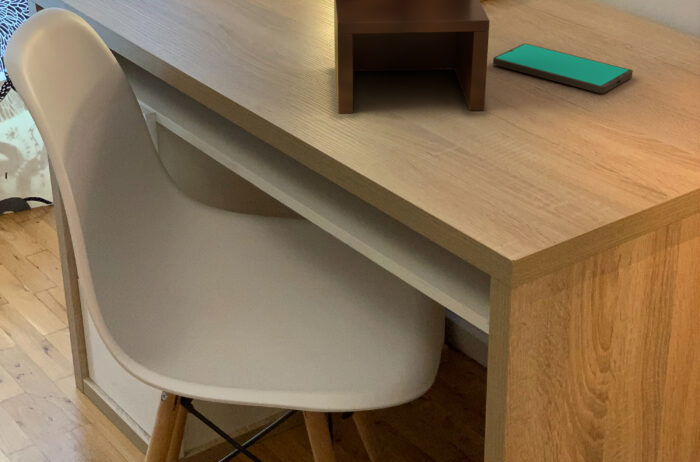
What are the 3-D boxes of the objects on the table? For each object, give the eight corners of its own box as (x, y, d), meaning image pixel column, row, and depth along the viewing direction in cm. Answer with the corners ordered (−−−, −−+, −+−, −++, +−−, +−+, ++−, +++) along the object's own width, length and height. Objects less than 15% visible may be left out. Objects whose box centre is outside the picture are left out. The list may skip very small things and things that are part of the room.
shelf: (466, 65, 130) (474, -86, 121) (484, 110, 118) (494, -55, 109) (334, 68, 129) (333, -84, 121) (338, 113, 117) (336, -52, 108)
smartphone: (603, 87, 121) (492, 57, 129) (602, 94, 121) (491, 64, 130) (634, 70, 126) (525, 42, 134) (633, 76, 126) (524, 49, 135)
